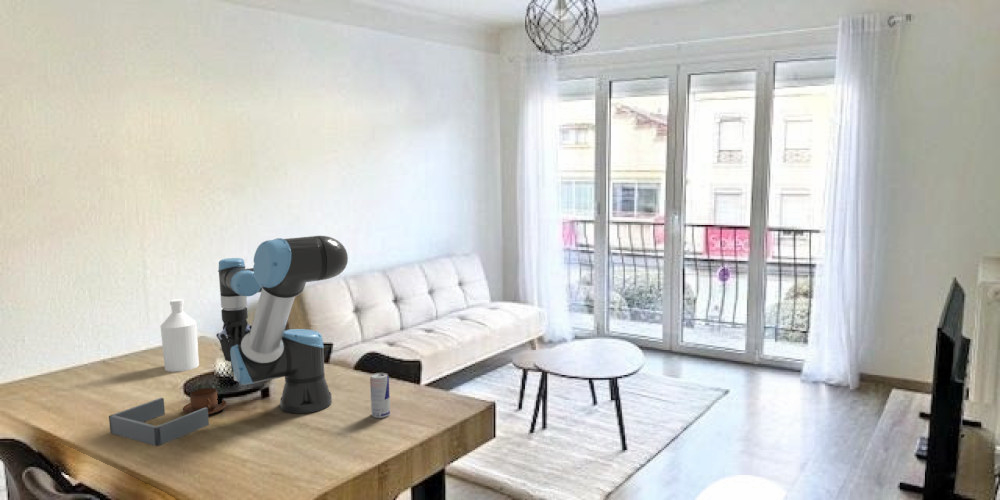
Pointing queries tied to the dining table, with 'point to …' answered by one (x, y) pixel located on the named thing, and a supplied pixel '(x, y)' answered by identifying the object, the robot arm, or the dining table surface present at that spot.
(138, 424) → the box
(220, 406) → the cup and saucer
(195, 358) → the bottle
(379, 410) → the energy drink
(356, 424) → the dining table surface
